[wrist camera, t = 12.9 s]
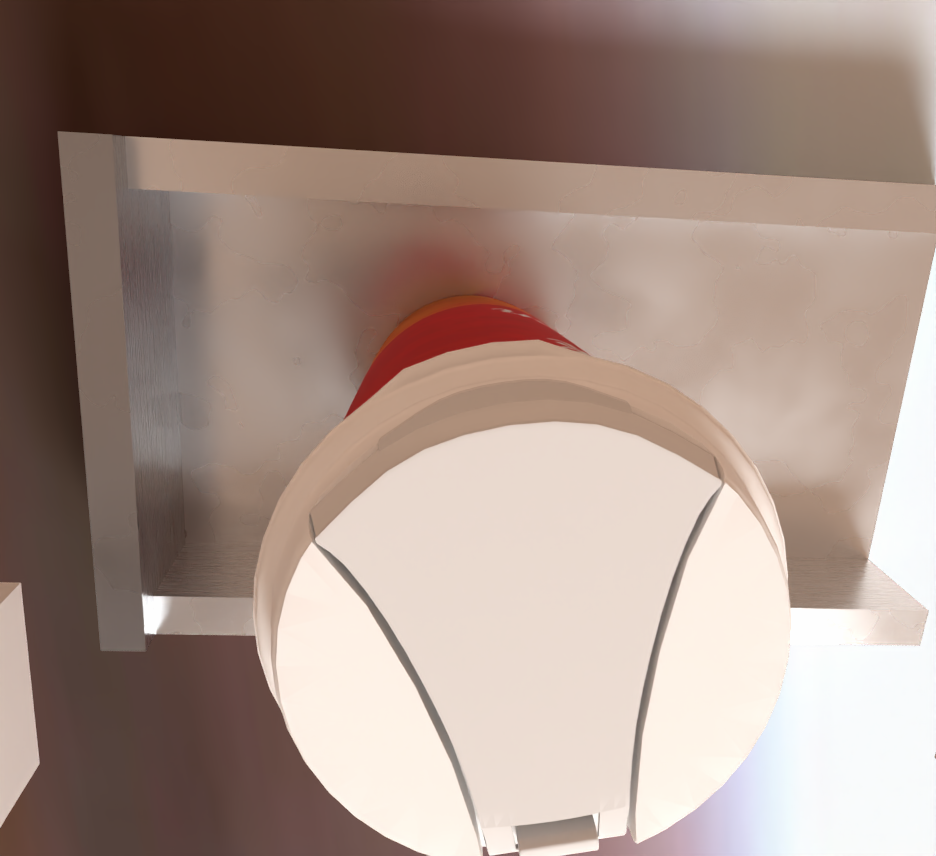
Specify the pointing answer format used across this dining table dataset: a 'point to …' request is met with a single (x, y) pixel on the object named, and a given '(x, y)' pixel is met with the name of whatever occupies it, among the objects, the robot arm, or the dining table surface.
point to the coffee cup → (521, 594)
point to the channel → (457, 274)
